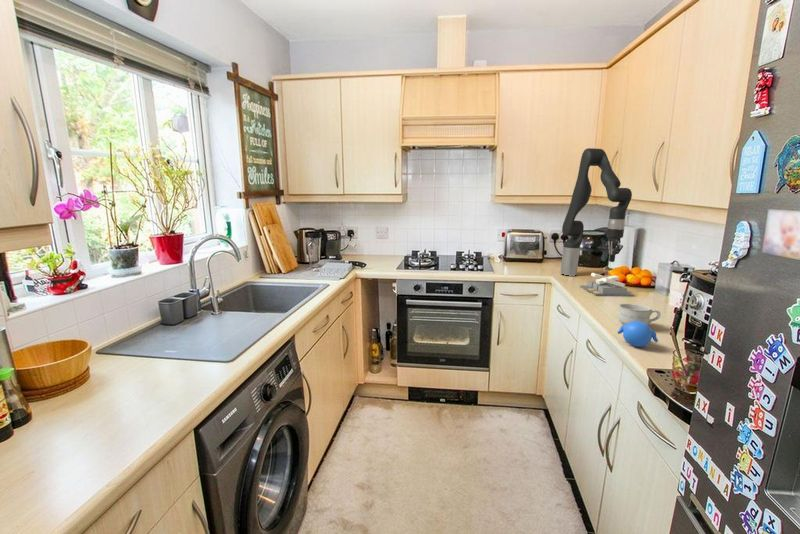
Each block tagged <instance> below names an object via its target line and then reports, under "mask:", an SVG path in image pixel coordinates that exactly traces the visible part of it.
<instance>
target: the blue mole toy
mask: <svg viewBox="0 0 800 534" xmlns="http://www.w3.org/2000/svg"><path fill="white" fill-rule="evenodd" d="M617 334H618V335H620V334H622V337H623V338H624V341H625V342H626V343H627V344H629V345H631V346H633V347H637V348H639V347H640V348H641V347H646V346H647V345H649V344H651V342H652V340H653V341H654V342H655V343H657V342H658V341H659V339H658V337H657V332H656V331H655V330H653V329H652V328H651V327H650V326H649V325H648V324H645V323H643V322H640V321H633V322H630V323H628V324H626V325H623V324H622V325H621V326H620V327H619V330H617Z"/></svg>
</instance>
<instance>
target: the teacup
mask: <svg viewBox="0 0 800 534" xmlns="http://www.w3.org/2000/svg"><path fill="white" fill-rule="evenodd" d="M653 313H656V314H657V315H656V316H654V318H650V317H651V316H652V314H653ZM661 316H662V315H661V312H660V311H659V310H658V309H656V308H655V309H652V308H651V307H649V306H646V305H641V304H635V303H619V305H618V318H617V319H618V321H619V323H621V324H622V326H623V325H626V324H628V323H630V322H633V321H640V322H643V323H645V324H647V325H648V324H651V323H652V322H654V321H655V322H656V321H657V320H659V319H660V318H661Z"/></svg>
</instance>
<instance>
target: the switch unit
mask: <svg viewBox="0 0 800 534" xmlns="http://www.w3.org/2000/svg"><path fill="white" fill-rule="evenodd" d="M579 288H581V289H582V288H583V290H584V289H585V290H584V291H586V290H587V291H586V292H588V293H589V294H591V293H592V295H593V294H594V296H595V297H635V294H634V293H631V292H629V291H628V288H627V287H625V286H624V287H621V286H618V285H614V284H611V283H603V284H598V283H596V279H595V280H590V279H588V280H587V285H584V284H583V285H582V284H581V285H579Z"/></svg>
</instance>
